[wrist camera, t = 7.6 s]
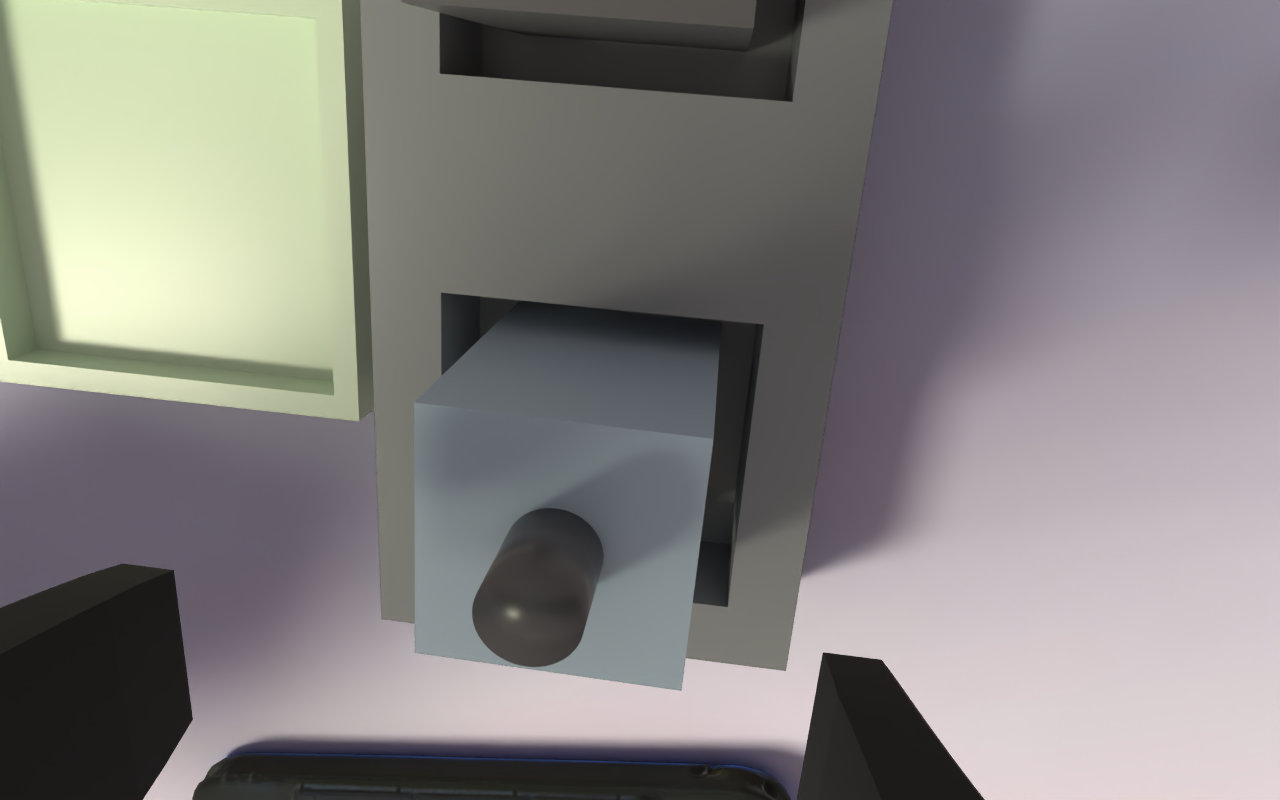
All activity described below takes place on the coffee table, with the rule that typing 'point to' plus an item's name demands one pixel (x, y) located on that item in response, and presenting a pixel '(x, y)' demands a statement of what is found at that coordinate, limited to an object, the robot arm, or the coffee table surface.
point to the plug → (566, 493)
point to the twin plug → (615, 19)
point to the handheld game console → (475, 779)
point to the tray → (186, 202)
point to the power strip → (628, 247)
